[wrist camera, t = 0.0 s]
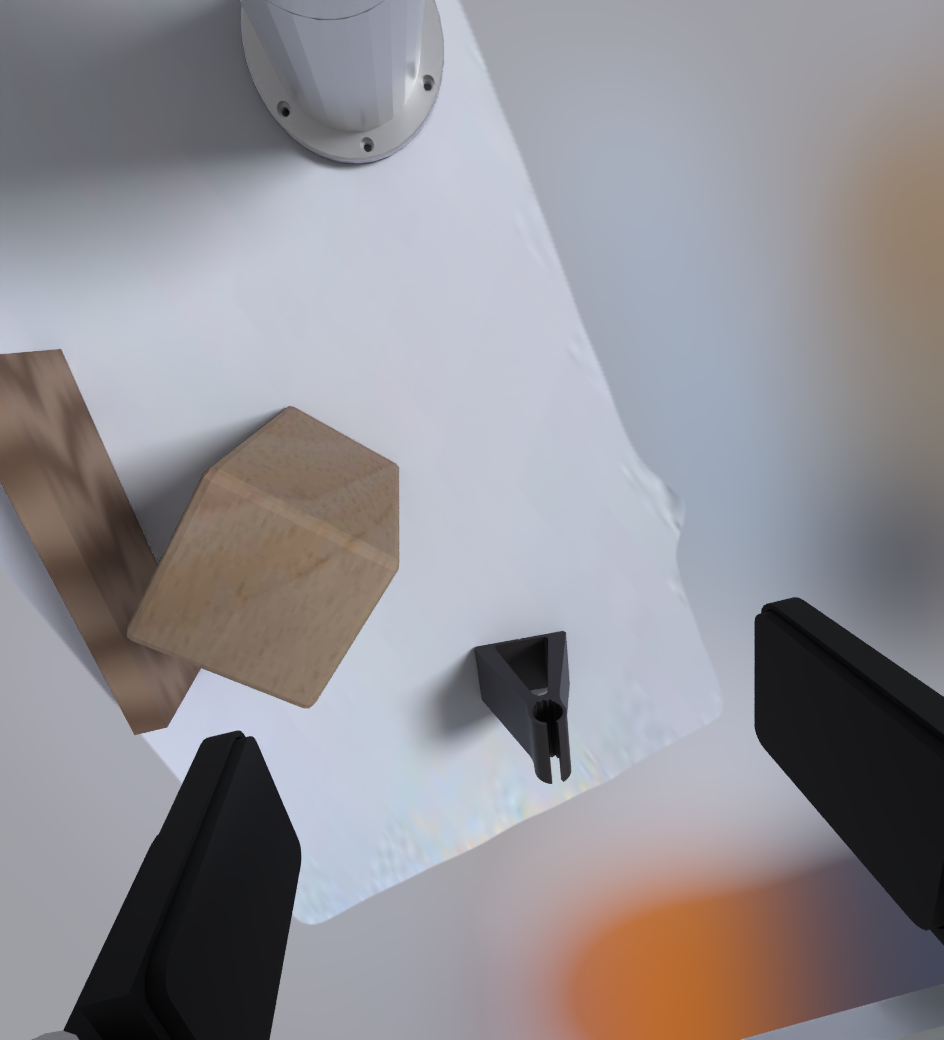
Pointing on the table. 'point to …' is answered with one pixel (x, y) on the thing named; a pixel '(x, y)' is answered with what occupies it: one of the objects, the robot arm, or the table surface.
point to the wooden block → (277, 560)
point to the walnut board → (84, 530)
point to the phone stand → (530, 695)
